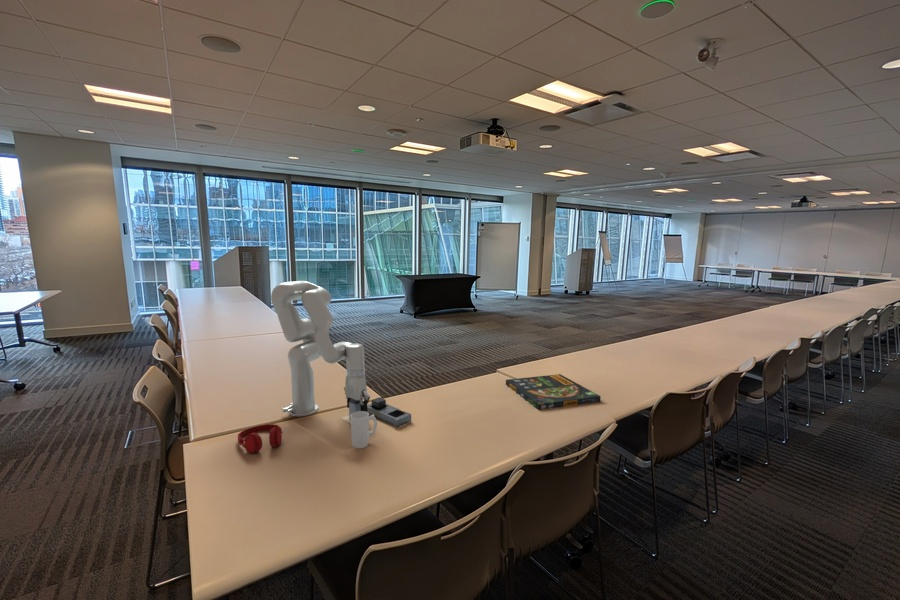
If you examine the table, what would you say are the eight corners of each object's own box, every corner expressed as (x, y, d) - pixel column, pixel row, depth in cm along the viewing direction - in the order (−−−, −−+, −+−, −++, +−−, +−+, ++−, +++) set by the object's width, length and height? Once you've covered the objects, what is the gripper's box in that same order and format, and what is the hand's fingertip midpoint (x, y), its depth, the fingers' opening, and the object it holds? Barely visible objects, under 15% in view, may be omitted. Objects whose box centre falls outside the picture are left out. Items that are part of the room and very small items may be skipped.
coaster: (354, 426, 160) (354, 425, 160) (340, 419, 166) (340, 418, 166) (372, 418, 167) (372, 417, 167) (359, 412, 174) (359, 411, 174)
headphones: (288, 445, 143) (275, 432, 159) (286, 427, 143) (274, 416, 159) (244, 458, 134) (235, 443, 150) (242, 438, 134) (233, 425, 150)
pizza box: (505, 385, 211) (505, 379, 211) (559, 380, 222) (560, 374, 221) (538, 411, 178) (538, 404, 178) (600, 402, 188) (600, 396, 188)
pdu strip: (397, 428, 159) (397, 413, 158) (364, 413, 173) (364, 399, 172) (411, 421, 165) (411, 407, 164) (378, 407, 179) (378, 394, 178)
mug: (353, 450, 140) (353, 420, 139) (349, 442, 146) (348, 413, 145) (379, 444, 145) (379, 414, 144) (374, 436, 151) (374, 408, 150)
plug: (355, 421, 164) (355, 401, 162) (349, 418, 167) (348, 398, 165) (364, 417, 167) (363, 398, 166) (357, 414, 170) (357, 395, 169)
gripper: (336, 370, 167) (338, 407, 169) (361, 378, 156) (362, 418, 158) (351, 366, 172) (352, 402, 175) (375, 374, 161) (376, 412, 164)
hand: (357, 409), depth 166 cm, fingers open, 9 cm apart
